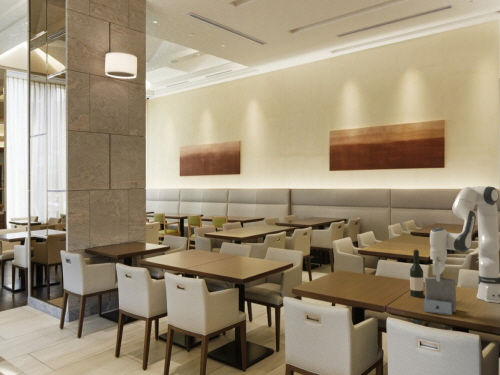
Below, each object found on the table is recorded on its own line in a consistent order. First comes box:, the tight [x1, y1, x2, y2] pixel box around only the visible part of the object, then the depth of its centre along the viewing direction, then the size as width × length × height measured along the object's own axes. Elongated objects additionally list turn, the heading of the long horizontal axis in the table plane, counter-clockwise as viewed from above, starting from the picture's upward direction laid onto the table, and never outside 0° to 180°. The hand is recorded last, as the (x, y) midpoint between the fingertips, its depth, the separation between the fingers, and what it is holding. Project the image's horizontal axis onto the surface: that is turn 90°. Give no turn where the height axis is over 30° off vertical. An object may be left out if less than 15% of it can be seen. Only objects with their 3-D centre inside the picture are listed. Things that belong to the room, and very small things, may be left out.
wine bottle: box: [409, 248, 425, 298], centre depth 261 cm, size 8×8×30 cm
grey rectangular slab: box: [424, 273, 457, 313], centre depth 230 cm, size 16×4×20 cm, turn 56°
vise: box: [423, 297, 453, 316], centre depth 229 cm, size 14×14×7 cm
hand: (439, 280), depth 230 cm, fingers closed on grey rectangular slab, 4 cm apart
